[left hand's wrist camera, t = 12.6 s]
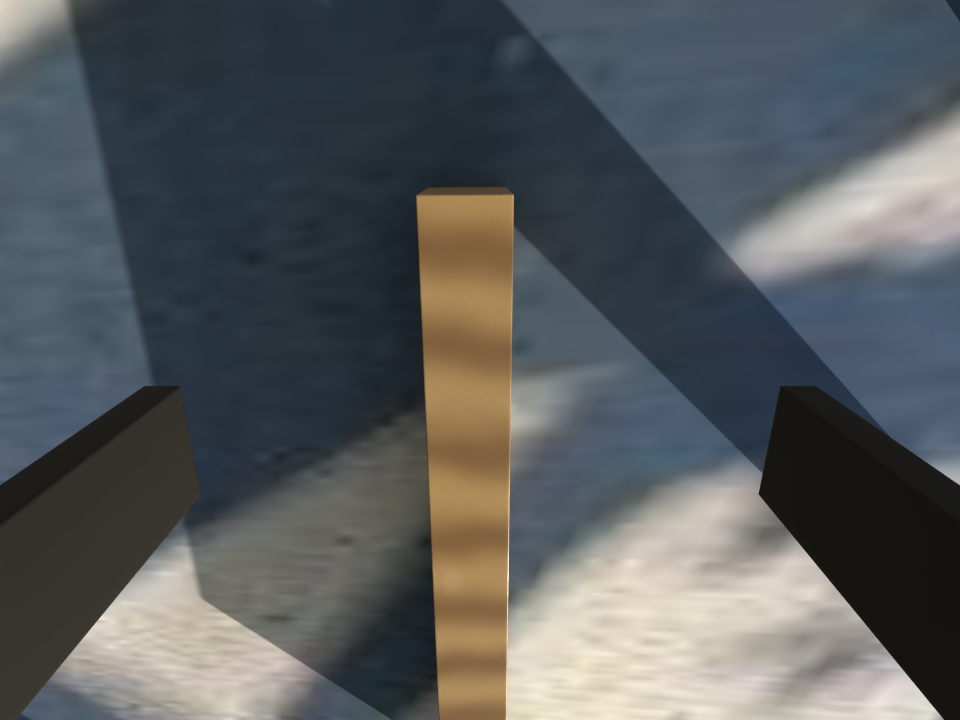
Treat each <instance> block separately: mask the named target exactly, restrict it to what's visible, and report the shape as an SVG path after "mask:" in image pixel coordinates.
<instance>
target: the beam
mask: <svg viewBox="0 0 960 720" xmlns="http://www.w3.org/2000/svg"><path fill="white" fill-rule="evenodd" d="M416 206H417V229H418V252H419V274H420V297H421V320H422V342H423V365H424V388H425V411H426V433H427V456H428V479H429V502H430V524H431V547H432V570H433V592H434V615H435V638H436V661H437V683H438V706H439V720H506V707H507V637H508V566H509V496H510V426H511V356H512V285H513V215H514V195H513V194H512V193H511V192H510V191H509V189H508V188H507V187H428V188H427V189H425V190H424V191H422V192H421V193H419V194H418V195H416Z"/></svg>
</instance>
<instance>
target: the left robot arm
mask: <svg viewBox="0 0 960 720" xmlns="http://www.w3.org/2000/svg"><path fill="white" fill-rule="evenodd" d="M200 495H201V490H200V485H199V480H198V475H197V470H196V466H195V461H194V456H193V451H192V446H191V441H190V436H189V431H188V426H187V421H186V416H185V411H184V406H183V401H182V397H181V392H180V387H179V386H144V387H143V388H141V389H140V390H138V391H137V392H135V393H134V394H132V395H131V396H130V397H128V398H127V399H125V400H124V401H122V402H121V403H119V404H118V405H116V406H115V407H114V408H112V409H111V410H109V411H108V412H106V413H105V414H103V415H102V416H100V417H99V418H98V419H96V420H95V421H93V422H92V423H90V424H89V425H87V426H86V427H84V428H83V429H82V430H80V431H79V432H77V433H76V434H74V435H73V436H71V437H70V438H68V439H67V440H66V441H64V442H63V443H61V444H60V445H58V446H57V447H55V448H54V449H52V450H51V451H50V452H48V453H47V454H45V455H44V456H42V457H41V458H39V459H38V460H36V461H35V462H34V463H32V464H31V465H29V466H28V467H26V468H25V469H23V470H22V471H20V472H19V473H18V474H16V475H15V476H13V477H12V478H10V479H9V480H7V481H6V482H4V483H3V484H2V485H0V720H16V719H17V718H18V716H19V715H20V714H21V713H22V712H23V710H24V709H25V708H26V707H27V706H28V704H29V703H30V702H31V701H32V699H33V698H34V697H35V696H36V695H37V693H38V692H39V691H40V690H41V688H42V687H43V686H44V685H45V684H46V682H47V681H48V680H49V679H50V678H51V676H52V675H53V674H54V673H55V671H56V670H57V669H58V668H59V667H60V665H61V664H62V663H63V662H64V661H65V659H66V658H67V657H68V656H69V654H70V653H71V652H72V651H73V650H74V648H75V647H76V646H77V645H78V644H79V642H80V641H81V640H82V639H83V637H84V636H85V635H86V634H87V633H88V631H89V630H90V629H91V628H92V627H93V625H94V624H95V623H96V622H97V620H98V619H99V618H100V617H101V616H102V614H103V613H104V612H105V611H106V609H107V608H108V607H109V606H110V605H111V603H112V602H113V601H114V600H115V599H116V597H117V596H118V595H119V594H120V592H121V591H122V590H123V589H124V588H125V586H126V585H127V584H128V583H129V582H130V580H131V579H132V578H133V577H134V575H135V574H136V573H137V572H138V571H139V569H140V568H141V567H142V566H143V565H144V563H145V562H146V561H147V560H148V558H149V557H150V556H151V555H152V554H153V552H154V551H155V550H156V549H157V548H158V546H159V545H160V544H161V543H162V541H163V540H164V539H165V538H166V537H167V535H168V534H169V533H170V532H171V530H172V529H173V528H174V527H175V526H176V524H177V523H178V522H179V521H180V520H181V518H182V517H183V516H184V515H185V513H186V512H187V511H188V510H189V509H190V507H191V506H192V505H193V504H194V503H195V501H196V500H197V499H198V498H199V496H200ZM759 495H760V496H761V498H762V499H763V500H764V501H765V503H766V504H767V505H768V506H769V507H770V509H771V510H772V511H773V512H774V513H775V515H776V516H777V517H778V518H779V520H780V521H781V522H782V523H783V524H784V526H785V527H786V528H787V529H788V530H789V532H790V533H791V534H792V535H793V537H794V538H795V539H796V540H797V541H798V543H799V544H800V545H801V546H802V548H803V549H804V550H805V551H806V552H807V554H808V555H809V556H810V557H811V558H812V560H813V561H814V562H815V563H816V565H817V566H818V567H819V568H820V569H821V571H822V572H823V573H824V574H825V575H826V577H827V578H828V579H829V580H830V582H831V583H832V584H833V585H834V586H835V588H836V589H837V590H838V591H839V592H840V594H841V595H842V596H843V597H844V599H845V600H846V601H847V602H848V603H849V605H850V606H851V607H852V608H853V609H854V611H855V612H856V613H857V614H858V616H859V617H860V618H861V619H862V620H863V622H864V623H865V624H866V625H867V627H868V628H869V629H870V630H871V631H872V633H873V634H874V635H875V636H876V637H877V639H878V640H879V641H880V642H881V644H882V645H883V646H884V647H885V648H886V650H887V651H888V652H889V653H890V654H891V656H892V657H893V658H894V659H895V661H896V662H897V663H898V664H899V665H900V667H901V668H902V669H903V670H904V671H905V673H906V674H907V675H908V676H909V678H910V679H911V680H912V681H913V682H914V684H915V685H916V686H917V687H918V688H919V690H920V691H921V692H922V693H923V695H924V696H925V697H926V698H927V699H928V701H929V702H930V703H931V704H932V706H933V707H934V708H935V709H936V710H937V712H938V713H939V714H940V715H941V716H942V718H943V719H944V720H960V485H958V484H957V483H956V482H954V481H953V480H951V479H950V478H948V477H947V476H945V475H944V474H942V473H941V472H940V471H938V470H937V469H935V468H934V467H932V466H931V465H929V464H928V463H926V462H925V461H924V460H922V459H921V458H919V457H918V456H916V455H915V454H913V453H912V452H910V451H909V450H908V449H906V448H905V447H903V446H902V445H900V444H899V443H897V442H896V441H894V440H893V439H892V438H890V437H889V436H887V435H886V434H884V433H883V432H881V431H880V430H878V429H877V428H876V427H874V426H873V425H871V424H870V423H868V422H867V421H865V420H864V419H862V418H861V417H860V416H858V415H857V414H855V413H854V412H852V411H851V410H849V409H848V408H846V407H845V406H844V405H842V404H841V403H839V402H838V401H836V400H835V399H833V398H832V397H830V396H829V395H828V394H826V393H825V392H823V391H822V390H820V389H819V388H817V387H816V386H781V387H780V392H779V397H778V401H777V406H776V411H775V416H774V421H773V426H772V431H771V436H770V441H769V446H768V451H767V456H766V461H765V466H764V470H763V475H762V480H761V485H760V490H759Z"/></svg>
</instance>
